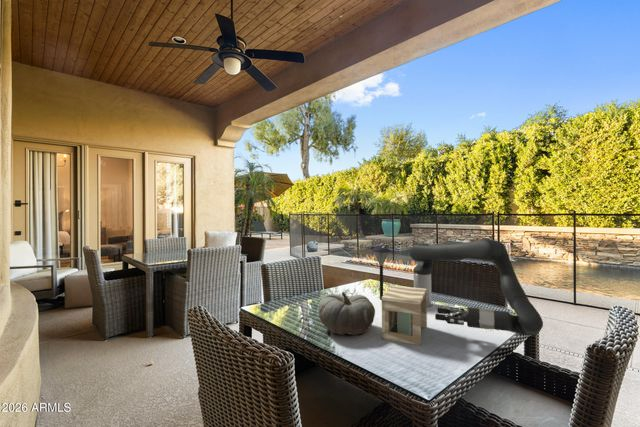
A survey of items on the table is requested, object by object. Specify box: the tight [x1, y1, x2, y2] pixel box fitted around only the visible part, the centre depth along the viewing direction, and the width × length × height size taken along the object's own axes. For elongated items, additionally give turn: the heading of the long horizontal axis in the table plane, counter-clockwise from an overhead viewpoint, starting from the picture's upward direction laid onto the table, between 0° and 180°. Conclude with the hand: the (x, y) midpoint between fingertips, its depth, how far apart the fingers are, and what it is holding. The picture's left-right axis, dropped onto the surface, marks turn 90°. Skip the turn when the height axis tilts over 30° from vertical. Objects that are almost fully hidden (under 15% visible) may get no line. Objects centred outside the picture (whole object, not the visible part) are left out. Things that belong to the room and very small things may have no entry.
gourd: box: [317, 291, 376, 336], centre depth 141 cm, size 25×25×17 cm
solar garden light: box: [370, 246, 392, 301], centre depth 185 cm, size 12×12×30 cm
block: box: [396, 312, 412, 335], centre depth 136 cm, size 5×5×10 cm
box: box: [381, 285, 428, 346], centre depth 136 cm, size 20×15×17 cm
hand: (436, 313), depth 131 cm, fingers open, 8 cm apart
